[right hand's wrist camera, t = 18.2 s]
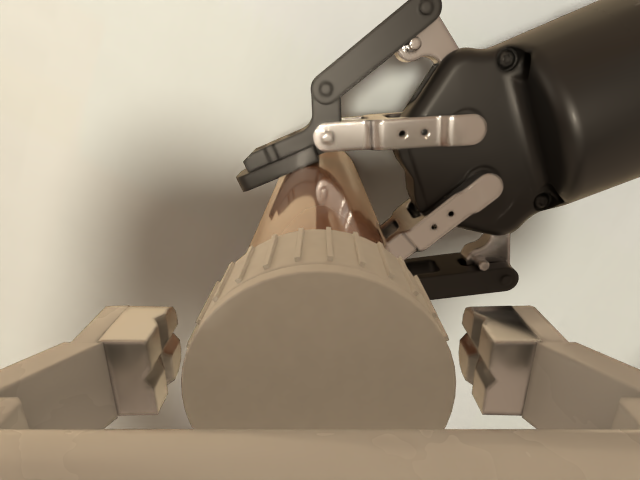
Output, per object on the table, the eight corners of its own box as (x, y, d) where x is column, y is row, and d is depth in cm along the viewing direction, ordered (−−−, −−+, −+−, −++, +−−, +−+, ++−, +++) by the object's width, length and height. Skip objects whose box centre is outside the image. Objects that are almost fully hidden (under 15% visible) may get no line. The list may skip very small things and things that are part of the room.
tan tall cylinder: (300, 128, 25) (258, 227, 8) (370, 162, 26) (472, 321, 9) (269, 197, 27) (176, 410, 9) (336, 228, 27) (366, 478, 10)
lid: (247, 436, 11) (230, 520, 9) (173, 257, 10) (131, 307, 7) (446, 394, 11) (477, 472, 9) (407, 198, 9) (435, 234, 7)
